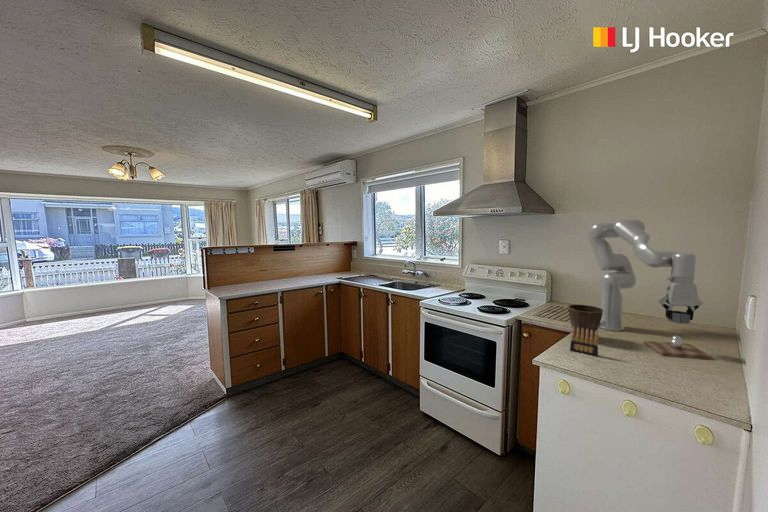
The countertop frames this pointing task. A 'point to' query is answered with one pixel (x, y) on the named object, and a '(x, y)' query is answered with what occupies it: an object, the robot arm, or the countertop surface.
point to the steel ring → (680, 317)
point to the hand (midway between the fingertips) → (678, 318)
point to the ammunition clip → (584, 342)
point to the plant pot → (585, 318)
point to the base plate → (685, 350)
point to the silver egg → (676, 342)
